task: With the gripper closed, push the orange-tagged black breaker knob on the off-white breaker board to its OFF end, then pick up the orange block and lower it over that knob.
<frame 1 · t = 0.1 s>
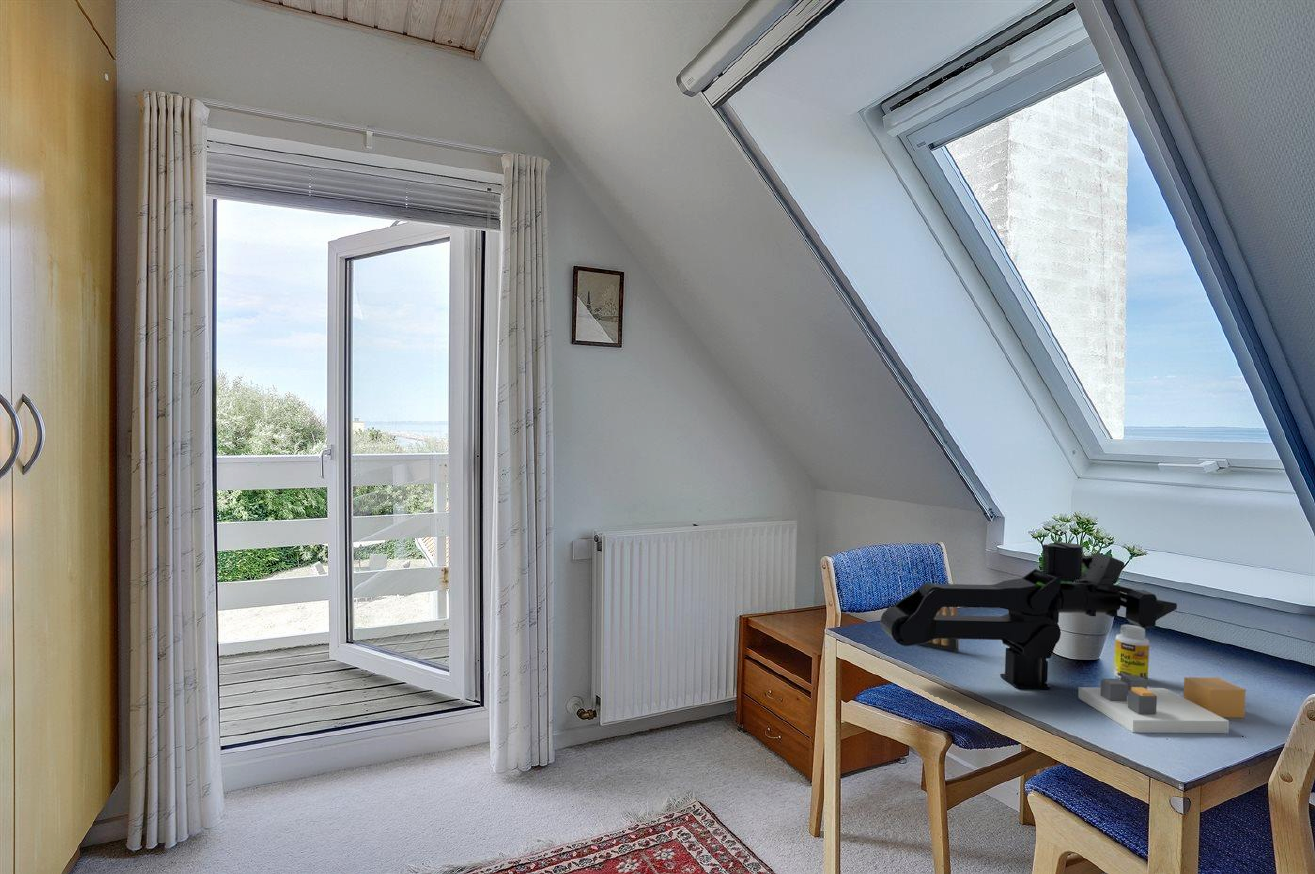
hand: (1157, 599, 135), 17 cm above the table, tool horizontal, fingers open, 9 cm apart
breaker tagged: (1142, 700, 118), point 4 cm above the table, slide at 0.0 cm
breaker board: (1149, 714, 121), on the table
supplement bottle: (1130, 679, 139), on the table
orange block: (1212, 710, 124), on the table
ammunition clip: (931, 647, 156), on the table
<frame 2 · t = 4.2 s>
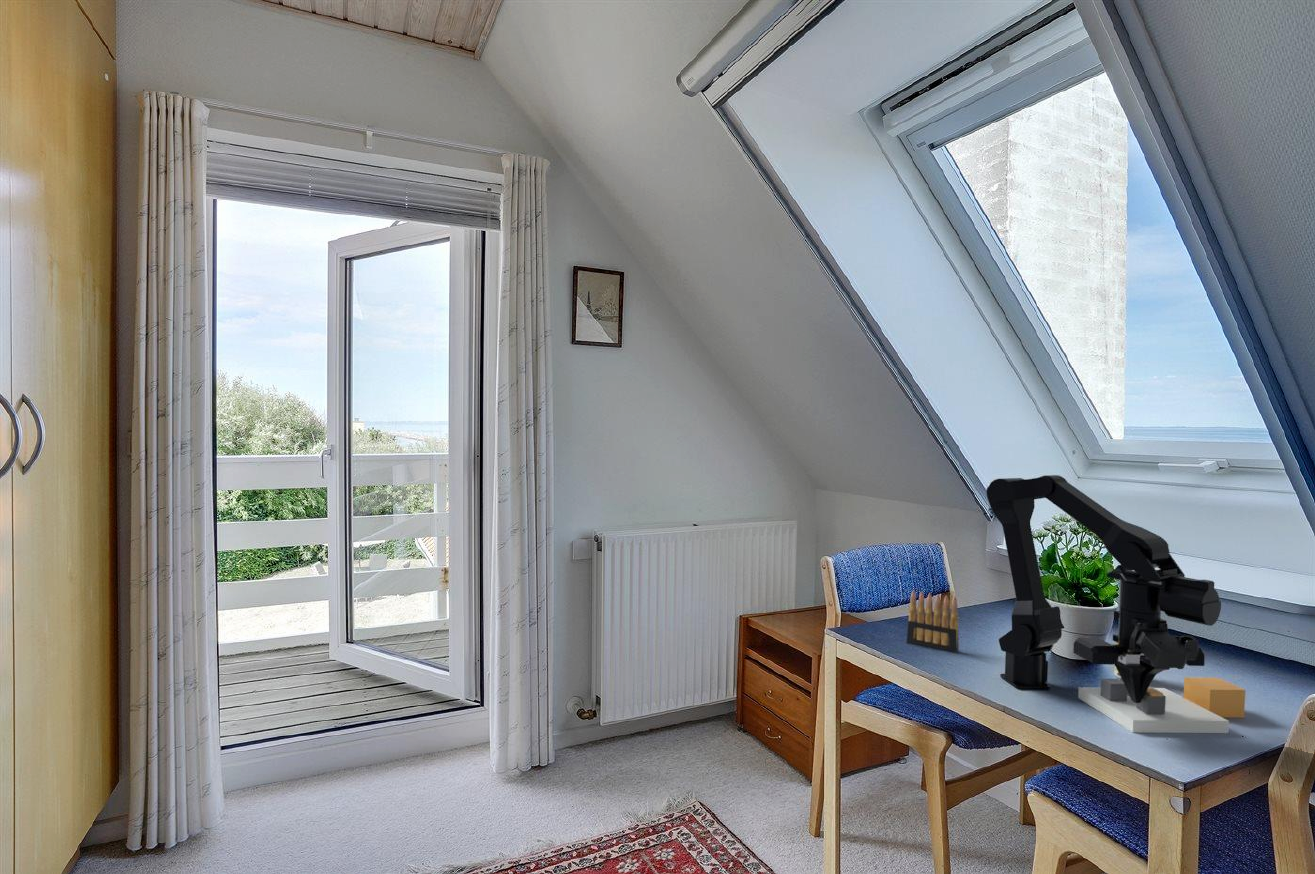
hand: (1135, 702, 118), 4 cm above the table, tool pointing down, fingers closed
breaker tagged: (1150, 700, 118), point 4 cm above the table, slide at 1.5 cm, touching gripper
everything else where it was.
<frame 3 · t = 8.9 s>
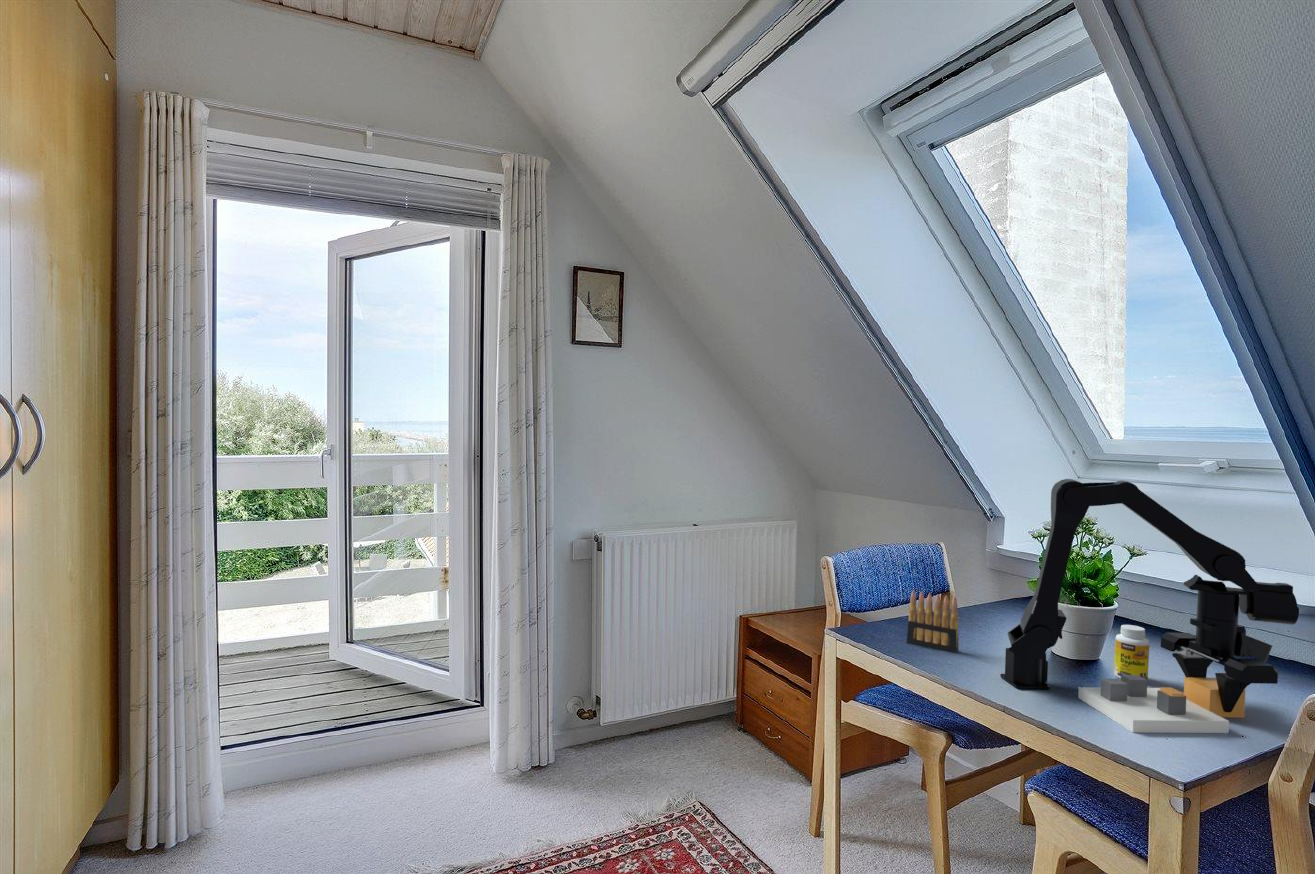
hand: (1213, 704, 124), 1 cm above the table, tool pointing down, fingers closed on orange block, 6 cm apart
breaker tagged: (1171, 700, 118), point 4 cm above the table, slide at 5.0 cm
orange block: (1212, 710, 124), on the table, touching gripper
everything else where it was.
when the fingers open (4 cm above the table, at t = 13.8 s): orange block drops 1 cm, resting on breaker board.
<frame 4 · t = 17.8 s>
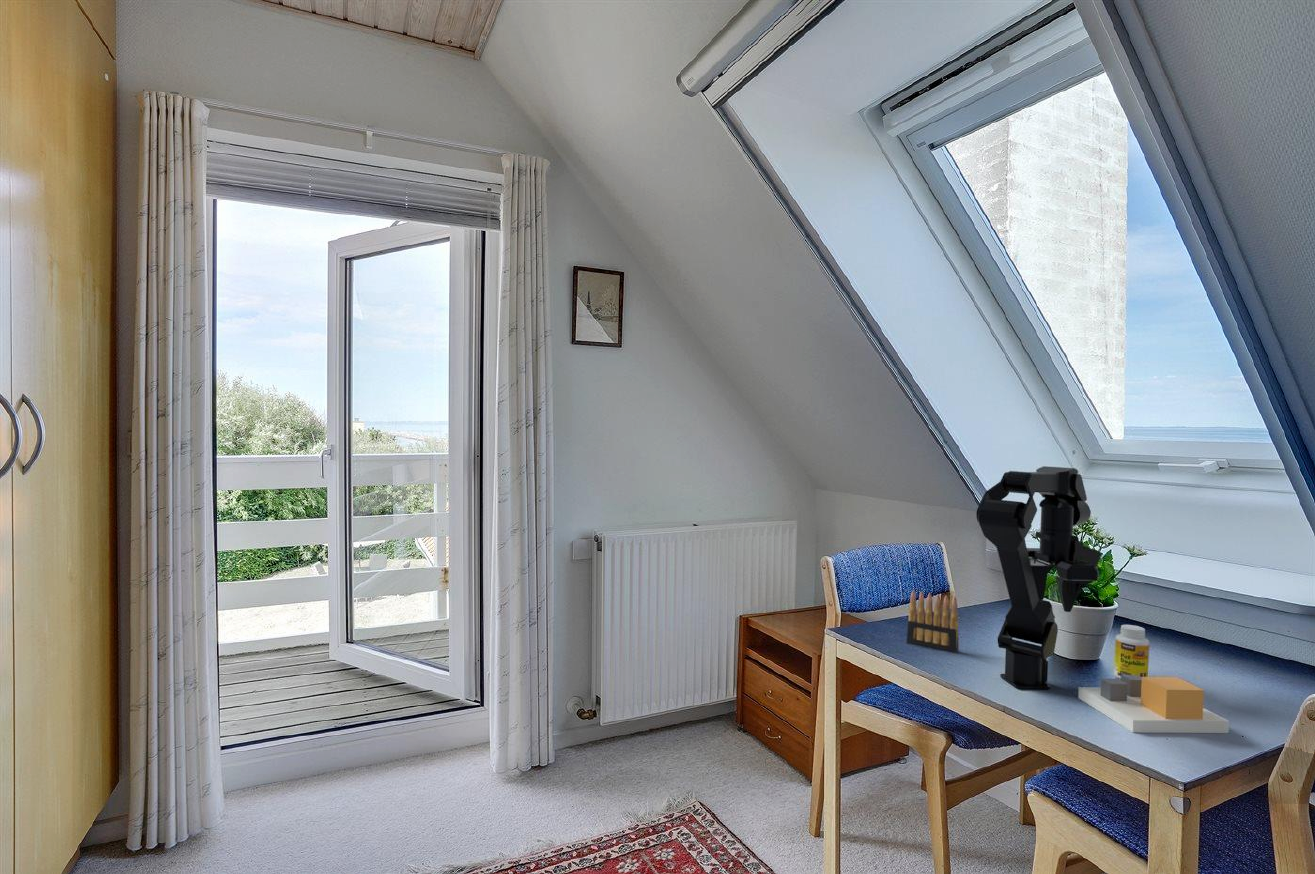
hand: (1053, 605, 143), 13 cm above the table, tool pointing down, fingers open, 9 cm apart
orange block: (1170, 711, 118), point 2 cm above the table, touching breaker board
everything else where it was.
at the end: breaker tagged slide at 5.0 cm; orange block 0.0 cm from the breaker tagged (horizontally); orange block point 2.0 cm above the table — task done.
